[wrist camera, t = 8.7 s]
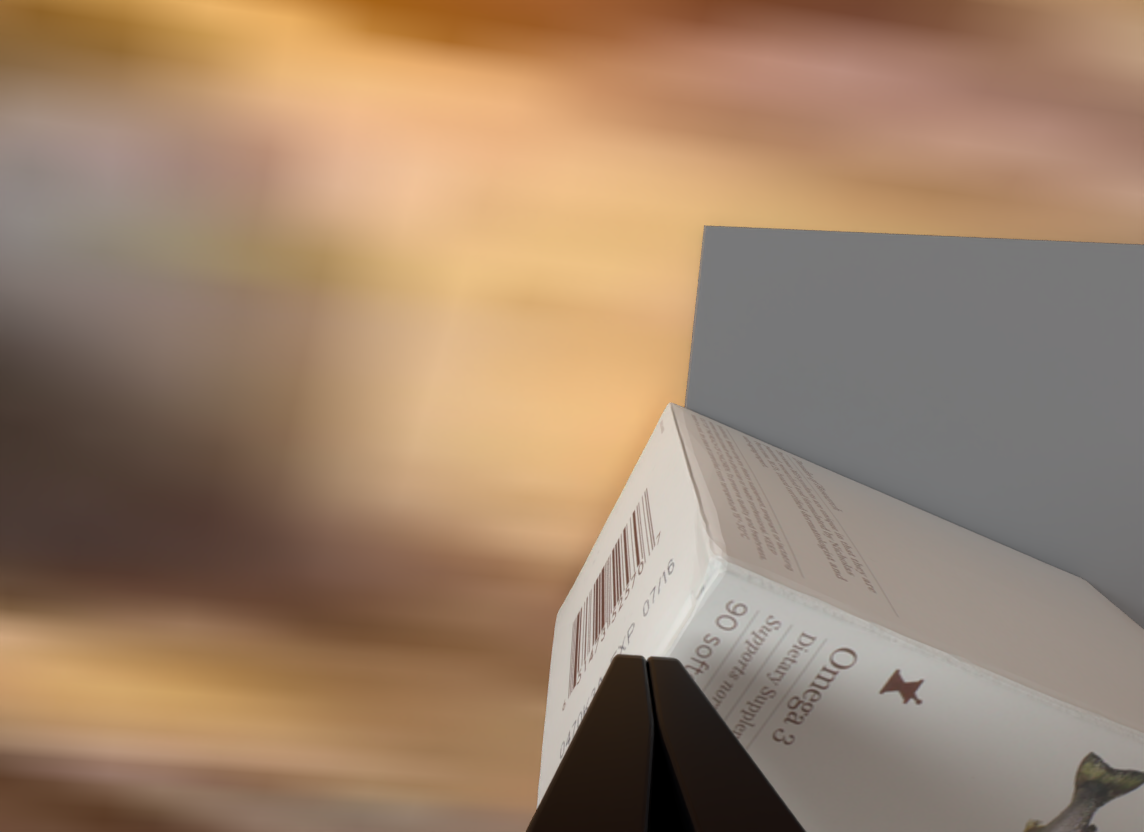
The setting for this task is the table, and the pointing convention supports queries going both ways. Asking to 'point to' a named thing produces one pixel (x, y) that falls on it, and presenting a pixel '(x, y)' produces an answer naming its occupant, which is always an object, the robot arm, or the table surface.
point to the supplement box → (858, 646)
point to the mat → (944, 379)
